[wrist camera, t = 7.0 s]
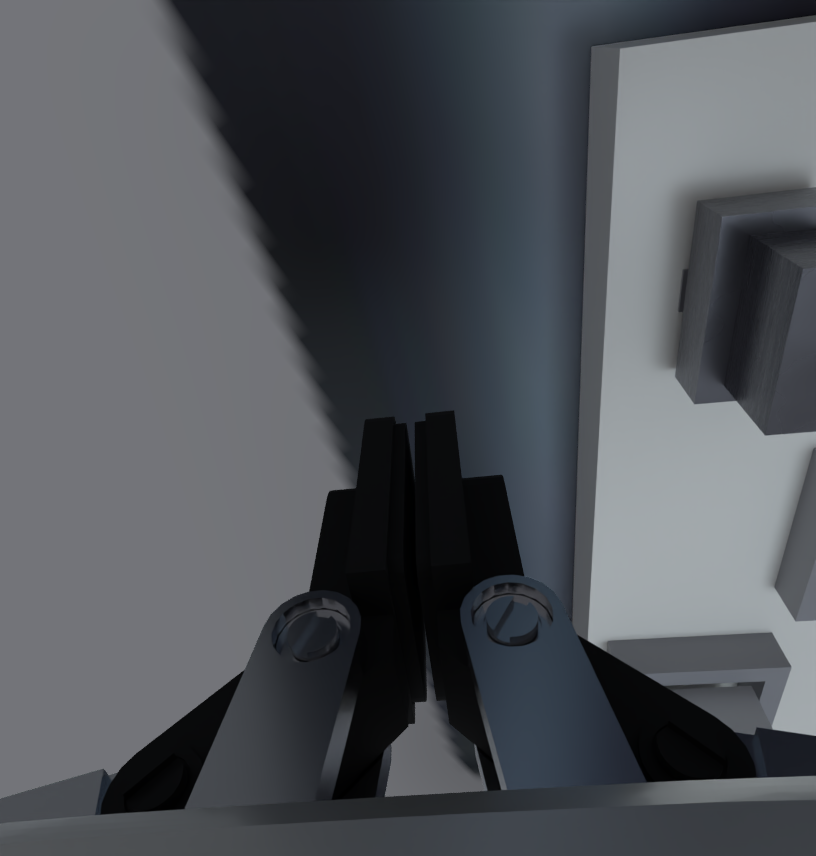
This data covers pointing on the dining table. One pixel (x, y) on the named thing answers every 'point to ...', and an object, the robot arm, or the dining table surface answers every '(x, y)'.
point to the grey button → (730, 706)
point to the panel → (662, 393)
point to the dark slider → (753, 308)
